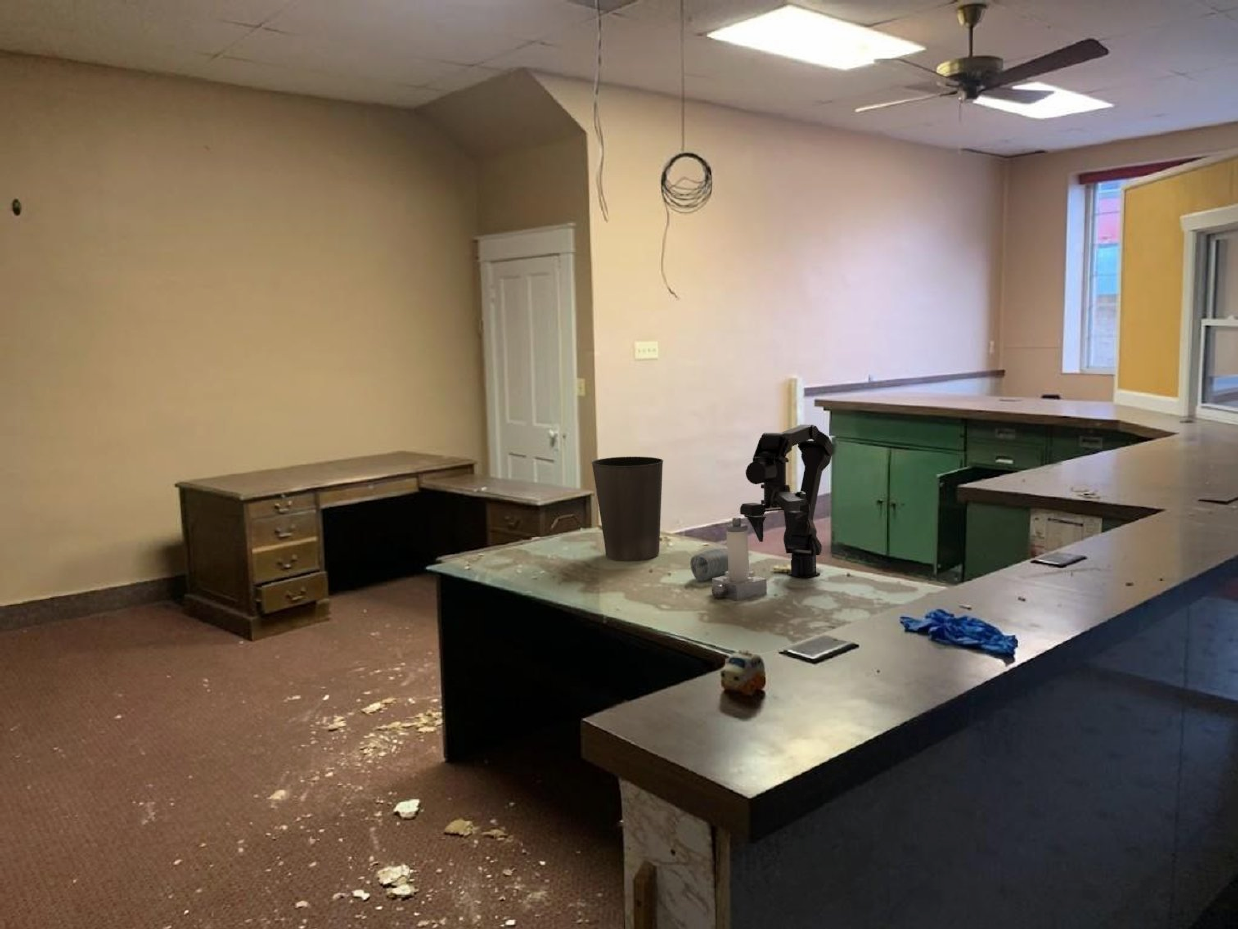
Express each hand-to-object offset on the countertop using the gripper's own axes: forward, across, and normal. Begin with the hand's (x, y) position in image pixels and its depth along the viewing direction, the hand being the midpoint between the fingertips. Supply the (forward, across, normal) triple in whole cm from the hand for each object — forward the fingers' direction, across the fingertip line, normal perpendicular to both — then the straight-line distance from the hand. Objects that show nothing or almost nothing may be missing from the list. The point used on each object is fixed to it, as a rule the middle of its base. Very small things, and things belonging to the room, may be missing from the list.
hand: (775, 540), depth 242 cm
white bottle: (+10, -9, +3) cm, 14 cm away
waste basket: (+12, -10, +60) cm, 62 cm away
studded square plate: (+14, -11, +3) cm, 18 cm away
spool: (+13, -6, +21) cm, 25 cm away
